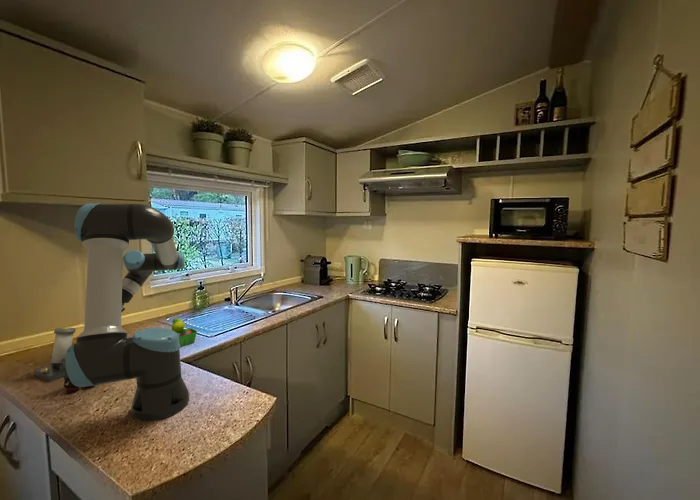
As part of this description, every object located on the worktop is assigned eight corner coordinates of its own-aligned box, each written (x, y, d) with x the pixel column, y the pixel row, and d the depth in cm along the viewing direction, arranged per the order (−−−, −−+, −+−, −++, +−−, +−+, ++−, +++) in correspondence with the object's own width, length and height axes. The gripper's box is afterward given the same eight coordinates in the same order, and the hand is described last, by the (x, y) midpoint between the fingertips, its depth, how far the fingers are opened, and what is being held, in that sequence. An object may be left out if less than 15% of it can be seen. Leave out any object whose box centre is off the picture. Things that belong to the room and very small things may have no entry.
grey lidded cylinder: (54, 364, 116) (59, 330, 117) (45, 361, 119) (51, 328, 120) (74, 361, 122) (79, 328, 123) (65, 358, 124) (70, 326, 125)
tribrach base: (49, 382, 113) (48, 366, 113) (34, 375, 118) (32, 360, 117) (86, 368, 123) (85, 354, 123) (70, 362, 128) (69, 349, 127)
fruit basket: (172, 350, 140) (171, 324, 138) (163, 345, 145) (161, 320, 144) (198, 342, 149) (197, 318, 147) (188, 337, 154) (187, 314, 153)
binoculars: (62, 370, 102) (61, 356, 109) (65, 400, 104) (64, 385, 111) (98, 361, 108) (95, 349, 115) (100, 390, 110) (97, 376, 117)
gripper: (141, 297, 140) (101, 349, 127) (123, 294, 146) (83, 343, 132) (127, 287, 135) (84, 341, 122) (109, 284, 140) (65, 335, 127)
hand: (83, 342), depth 127 cm, fingers closed
